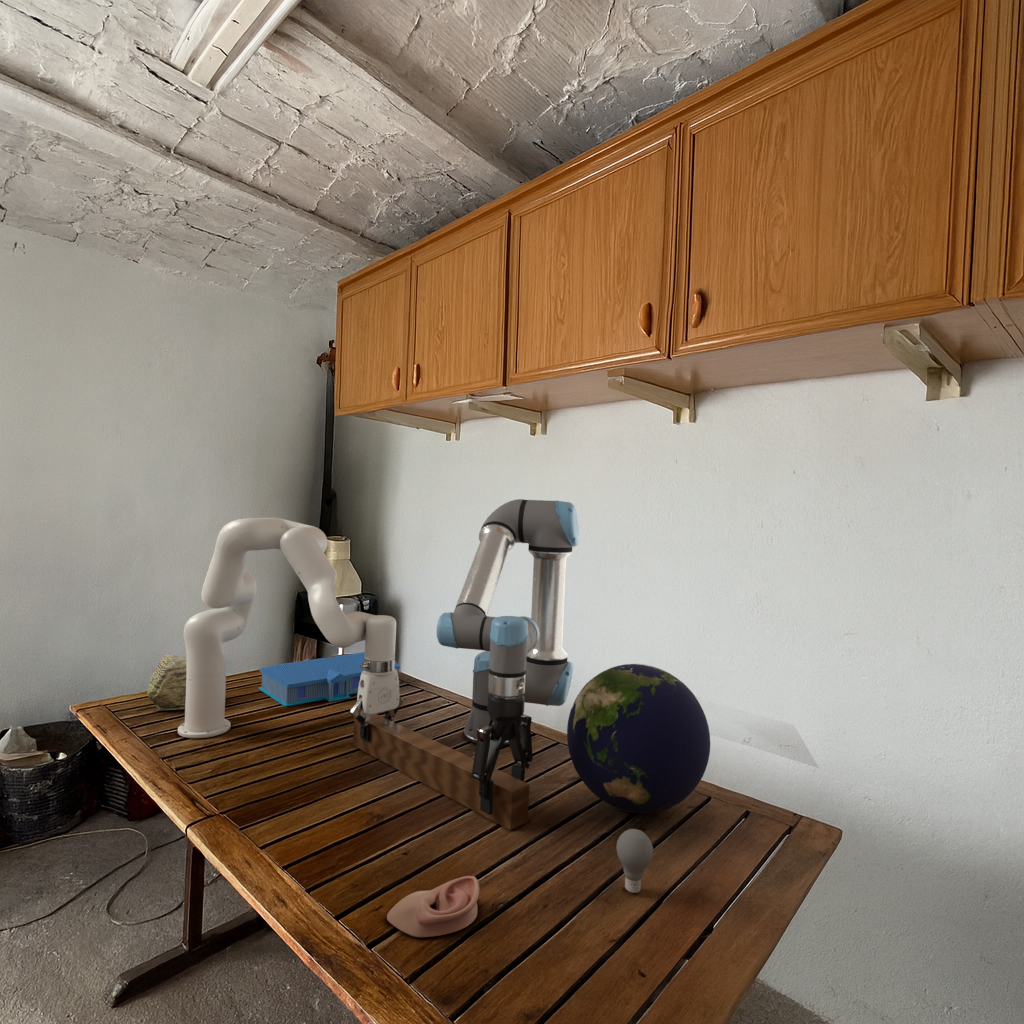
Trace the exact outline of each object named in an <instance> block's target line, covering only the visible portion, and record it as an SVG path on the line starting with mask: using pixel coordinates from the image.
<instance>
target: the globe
mask: <svg viewBox="0 0 1024 1024" xmlns="http://www.w3.org/2000/svg"><path fill="white" fill-rule="evenodd" d="M566 725H567V726H566V740H567V741H566V742H567V749H568V753H569V757H570V760H571V762H572V765H573V767H574V770H575V771H576V773H577V775H578V777H579V778H580V780H581V781H582V782H583V784H584V785H585V786H586V787H587V789H589V791H590V792H591V793H592V794H593V795H594V796H596V797H597V798H598V799H600V800H601V801H603V803H606V804H607V805H609V806H611V807H613V808H616V809H617V810H621V811H625V812H628V813H633V814H634V813H635V814H653V813H658V812H662V811H665V810H668V809H671V808H672V807H673V808H674V807H675V806H676V805H679V804H680V803H681V802H683V801H684V800H685V799H686V798H688V797H689V796H690V795H691V794H692V793H693V792H694V790H695V789H696V788H697V787H698V785H699V784H700V782H701V780H702V779H703V777H704V775H705V772H706V770H707V766H708V764H709V759H710V754H711V733H710V727H709V723H708V719H707V717H706V714H705V712H704V709H703V707H702V705H701V703H700V702H699V700H698V699H697V697H696V695H695V694H694V693H693V692H692V690H691V689H690V688H689V687H688V686H687V685H686V684H685V682H683V681H681V680H680V679H679V678H677V677H676V676H675V675H673V674H671V673H670V672H668V671H665V670H664V669H661V668H659V667H656V666H652V665H648V664H644V663H628V664H626V663H625V664H620V665H615V666H613V667H609V668H608V669H605V670H603V671H602V672H601V671H600V672H599V673H598V674H597V675H595V676H594V677H592V678H591V679H590V680H589V681H588V682H586V684H584V686H583V687H582V688H581V689H580V691H579V692H578V694H577V695H576V697H575V699H574V701H573V703H572V706H571V708H570V712H569V715H568V720H567V724H566Z"/></svg>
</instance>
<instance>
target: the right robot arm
mask: <svg viewBox="0 0 1024 1024" xmlns="http://www.w3.org/2000/svg"><path fill="white" fill-rule="evenodd" d="M579 526H580V525H579V517H578V513H577V509H576V506H575V505H574V504H573V503H572V502H569V501H563V500H543V499H538V500H537V499H523V498H520V499H519V498H517V499H513V500H509V501H507V502H505V503H504V504H502V505H500V506H498V507H497V508H496V509H494V510H493V511H492V512H491V513H490V515H488V516H487V518H485V520H484V521H483V524H482V526H481V528H480V530H479V533H478V539H479V544H478V546H477V549H476V552H475V554H474V557H473V560H472V562H471V566H470V568H469V570H468V572H467V576H466V578H465V581H464V584H463V586H462V589H461V592H460V594H459V597H458V600H457V601H456V605H455V607H454V610H453V612H451V611H450V612H443V613H442V614H440V616H439V618H438V620H437V624H436V639H437V641H438V644H439V645H441V646H442V647H447V648H453V649H464V650H465V649H466V650H476V651H481V652H480V653H478V654H477V655H476V656H475V657H474V661H473V669H472V698H471V699H472V701H471V708H470V712H469V715H468V717H467V719H466V722H465V726H464V729H463V730H464V731H463V736H464V738H465V740H466V741H468V742H470V743H472V744H474V745H475V751H474V758H473V759H474V763H473V769H472V775H471V776H472V778H474V779H476V780H478V781H479V796H481V799H480V810H481V811H483V812H485V813H487V814H488V815H491V814H492V806H493V783H494V781H492V780H491V777H492V773H493V770H494V768H495V767H496V764H497V760H498V758H499V755H500V751H501V749H503V748H504V747H505V746H506V747H507V746H509V748H510V751H511V755H512V758H513V762H514V764H512V765H511V773H510V775H511V776H513V777H515V778H517V779H519V780H522V781H524V782H525V779H526V778H525V777H526V770H528V769H529V768H530V766H531V765H530V763H531V762H533V760H534V754H533V742H532V731H531V726H532V720H533V717H531V716H530V715H527V714H525V703H526V704H535V705H541V706H543V705H544V706H546V707H548V706H553V707H561V706H563V705H564V704H565V703H566V702H567V699H568V696H569V692H570V687H571V684H572V678H573V672H574V663H573V662H571V661H570V660H569V661H568V657H569V656H568V653H567V652H566V651H565V650H564V648H563V640H564V639H563V637H564V617H565V616H564V615H565V614H564V613H565V591H566V570H567V569H566V568H567V567H566V566H567V558H569V556H570V555H572V553H573V548H574V547H577V546H578V545H579V542H580V527H579ZM520 543H521V544H528V548H527V549H528V552H529V554H531V555H532V557H533V566H532V567H533V569H532V592H531V613H530V614H531V615H530V617H529V616H525V615H522V616H517V615H501V616H488V614H489V610H490V607H491V604H492V601H493V598H494V595H495V592H496V590H497V585H498V584H499V580H500V577H501V573H502V572H503V571H502V570H503V568H504V566H505V563H506V562H505V561H506V558H507V555H508V553H509V552H510V551H511V550H512V549H514V547H515V544H520ZM485 773H486V774H485Z"/></svg>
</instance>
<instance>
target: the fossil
mask: <svg viewBox="0 0 1024 1024" xmlns="http://www.w3.org/2000/svg"><path fill="white" fill-rule="evenodd" d="M186 665H187V658H186V656H183V657H182V656H178V655H175V654H174V655H173V654H165V655H164V656H163V657H162V658H161V659H160V660H159V662H158V663H157V666H156V667H155V669H154V670H153V672H152V675H151V677H150V680H149V684H148V688H147V697H148V699H149V700H150V701H152V703H153V704H154V706H155V711H158V712H159V711H162V712H163V711H177V710H185V701H186Z"/></svg>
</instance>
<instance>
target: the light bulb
mask: <svg viewBox="0 0 1024 1024" xmlns="http://www.w3.org/2000/svg"><path fill="white" fill-rule="evenodd" d="M615 849H616V854H617V857H618V859H619V861H620V863H621V865H622V867H623V873H624V874H623V875H624V876H625V878H624V888H625V890H627V891H628V892H630V893H634V894H635V893H639V892H640V891H641V889H642V887H641V886H642V879H643V877H644V875H645V871H646V868H647V867H648V866H649V864H650V863H651V861H652V859H653V855H654V847H653V843H652V841H651V838H649V836H648V835H647V834H646V833H645V832H643V831H642V830H641V829H636V828H629V829H627V830H625V831H623V832H622V833H621V834H620V835H619V837H618V839H617V841H616V847H615Z"/></svg>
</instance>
